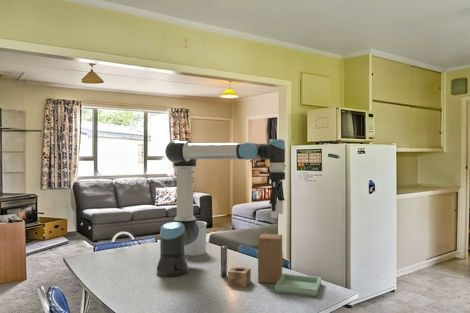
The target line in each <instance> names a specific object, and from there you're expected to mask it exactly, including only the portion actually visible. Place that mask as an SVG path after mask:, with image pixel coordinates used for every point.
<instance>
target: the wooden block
mask: <svg viewBox="0 0 470 313" xmlns="http://www.w3.org/2000/svg"><path fill="white" fill-rule="evenodd" d="M257 244H258V245H257V281H258V283H260V284H261V283H262V284H263V283H264V284H275V285H276V283H277V282H278V280H279V279H280V277H281V276H282V274H283V235H282V234H278V233H277V234H275V233H274V234H271V233H270V234H269V233H261V234H259V237H258V238H257Z"/></svg>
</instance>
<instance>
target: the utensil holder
mask: <svg viewBox="0 0 470 313" xmlns="http://www.w3.org/2000/svg"><path fill="white" fill-rule="evenodd" d="M196 223H197V225H198V226H199V230H200V231H199V236H198V238H197V239H196V240H195V241H194V242H192V243H191V244H188V245H186V246H184V255H185V256H190V257H192V256H195V257H197V256H202V255H205V254H206V252H207V226H208V222H206V221H203V220H202V221H201V220H196Z"/></svg>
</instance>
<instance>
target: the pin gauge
mask: <svg viewBox="0 0 470 313" xmlns="http://www.w3.org/2000/svg"><path fill="white" fill-rule="evenodd" d="M220 277H221V278H228V246H227V245H221V246H220Z"/></svg>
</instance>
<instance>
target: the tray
mask: <svg viewBox="0 0 470 313" xmlns="http://www.w3.org/2000/svg"><path fill="white" fill-rule="evenodd" d="M321 285H322V277H321V276H312V275H303V274H302V275H301V274H290V273H282V276H281V277H280V279H279V280H278V282H277V283H276V284H275V285H274V293H275V294H285V295H291V296H292V295H294V296H300V297H311V298H317V297H318V295H319V291H320V288H321Z"/></svg>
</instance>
